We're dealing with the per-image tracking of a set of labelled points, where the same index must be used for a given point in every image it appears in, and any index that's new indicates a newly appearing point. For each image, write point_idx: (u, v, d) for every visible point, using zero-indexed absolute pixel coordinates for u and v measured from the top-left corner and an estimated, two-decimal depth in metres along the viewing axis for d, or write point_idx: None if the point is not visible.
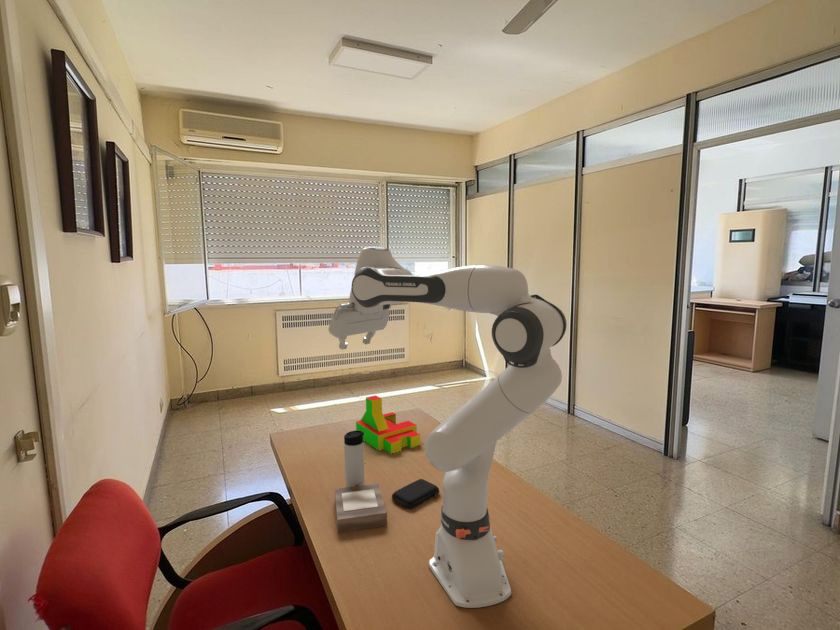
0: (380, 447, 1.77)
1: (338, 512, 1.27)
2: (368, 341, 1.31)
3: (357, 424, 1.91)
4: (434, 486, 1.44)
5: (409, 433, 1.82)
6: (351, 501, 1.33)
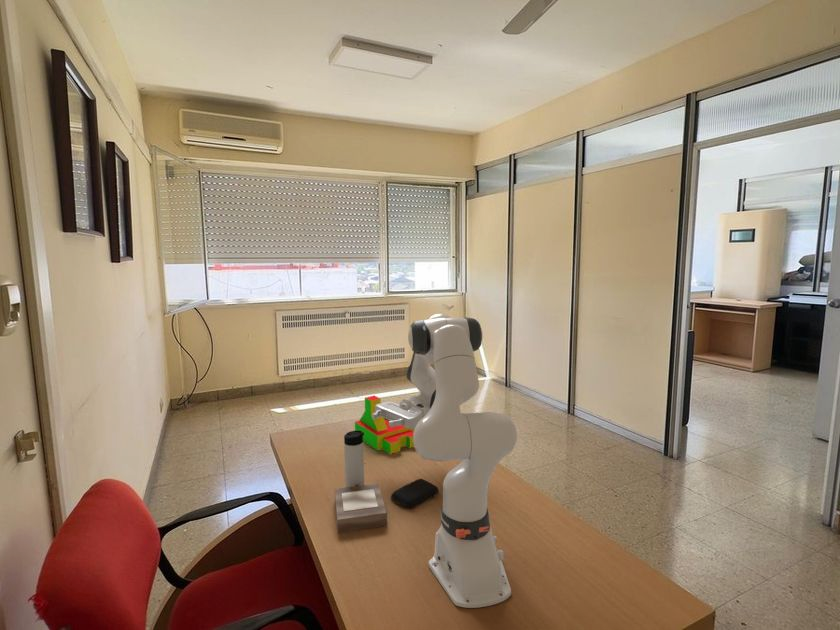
0: (379, 447, 1.77)
1: (338, 512, 1.27)
2: (392, 420, 1.50)
3: (355, 424, 1.90)
4: (433, 486, 1.44)
5: (408, 433, 1.82)
6: (351, 501, 1.33)
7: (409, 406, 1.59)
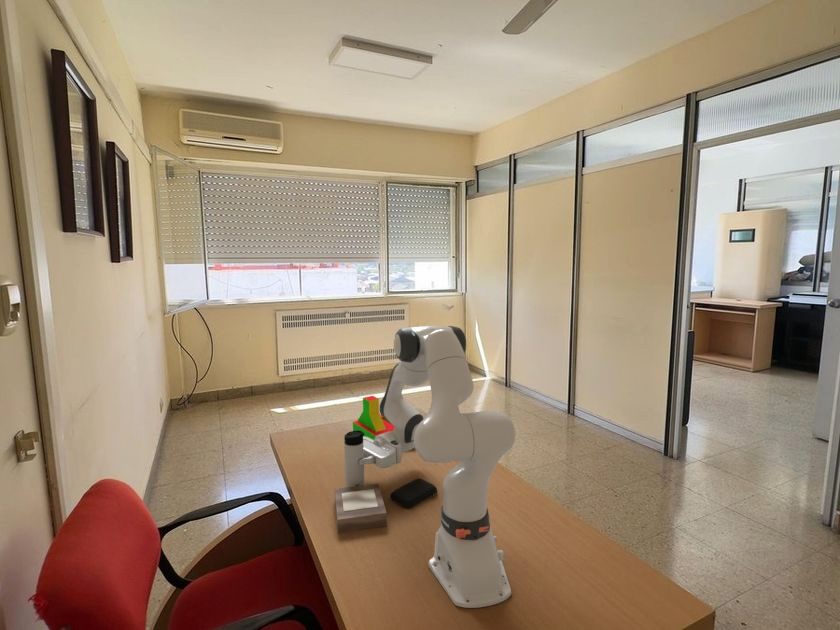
0: None
1: (338, 512, 1.27)
2: (361, 458, 1.44)
3: (353, 424, 1.90)
4: (432, 485, 1.45)
5: None
6: (351, 501, 1.33)
7: (383, 443, 1.52)
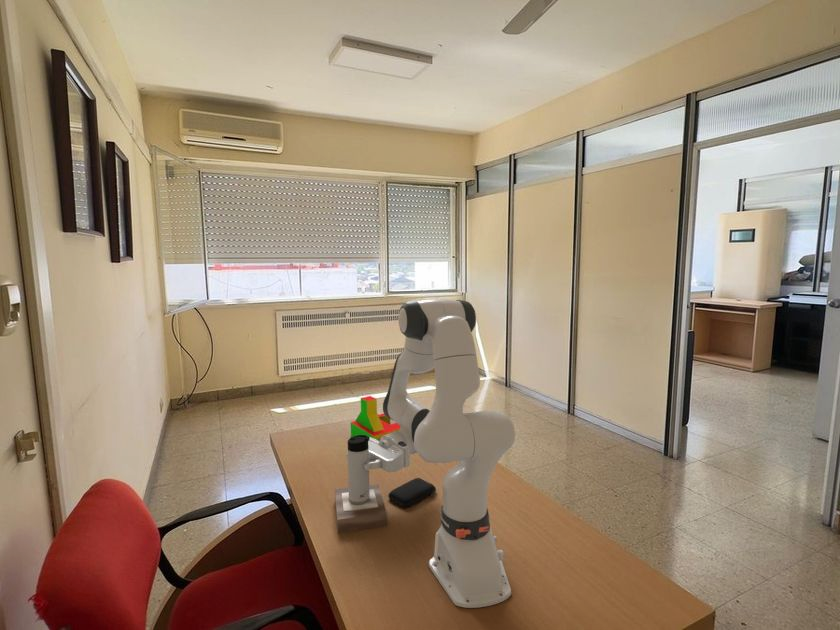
0: None
1: (338, 512, 1.27)
2: (367, 462, 1.29)
3: (351, 424, 1.90)
4: (430, 485, 1.45)
5: None
6: None
7: (389, 444, 1.38)
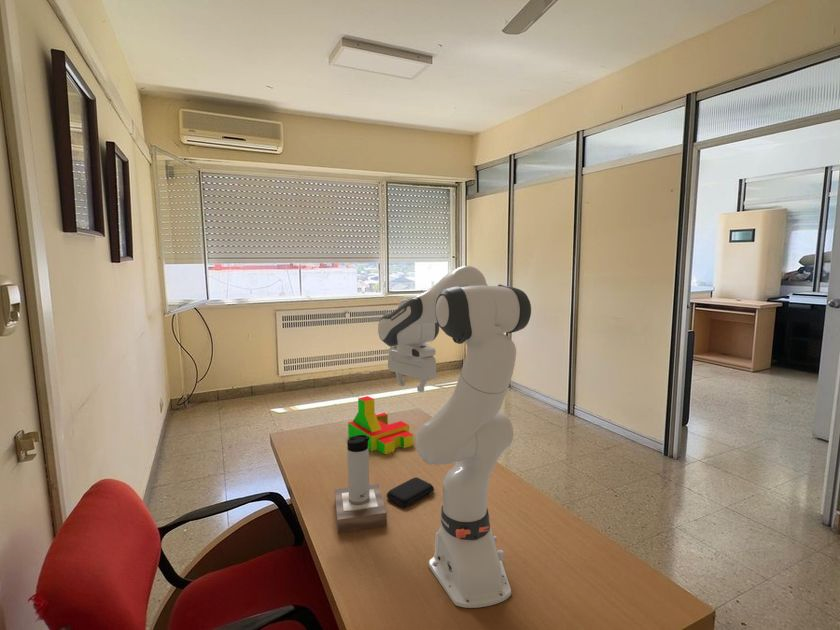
0: (373, 448, 1.77)
1: (338, 512, 1.27)
2: (418, 388, 1.42)
3: (349, 425, 1.89)
4: (429, 484, 1.45)
5: (402, 433, 1.82)
6: None
7: (409, 356, 1.41)
